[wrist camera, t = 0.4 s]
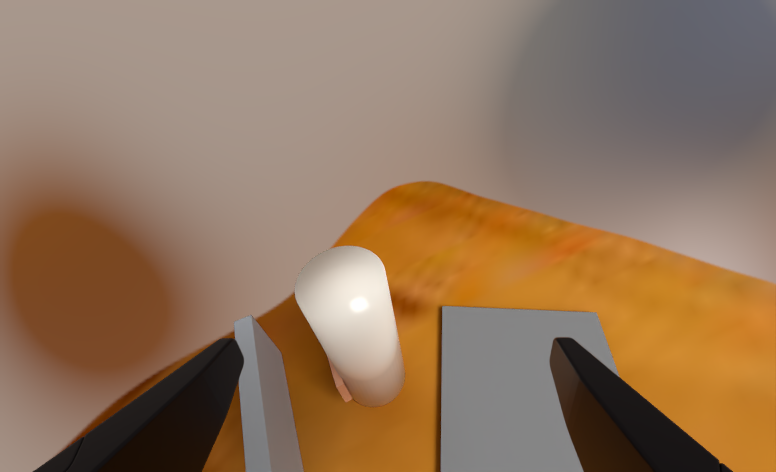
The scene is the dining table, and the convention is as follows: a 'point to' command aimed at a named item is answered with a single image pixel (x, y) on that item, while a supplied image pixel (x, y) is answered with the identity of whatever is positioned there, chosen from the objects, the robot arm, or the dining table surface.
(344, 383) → the white rounded cylinder
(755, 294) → the dining table surface
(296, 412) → the dining table surface
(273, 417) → the screen
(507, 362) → the slate mat
